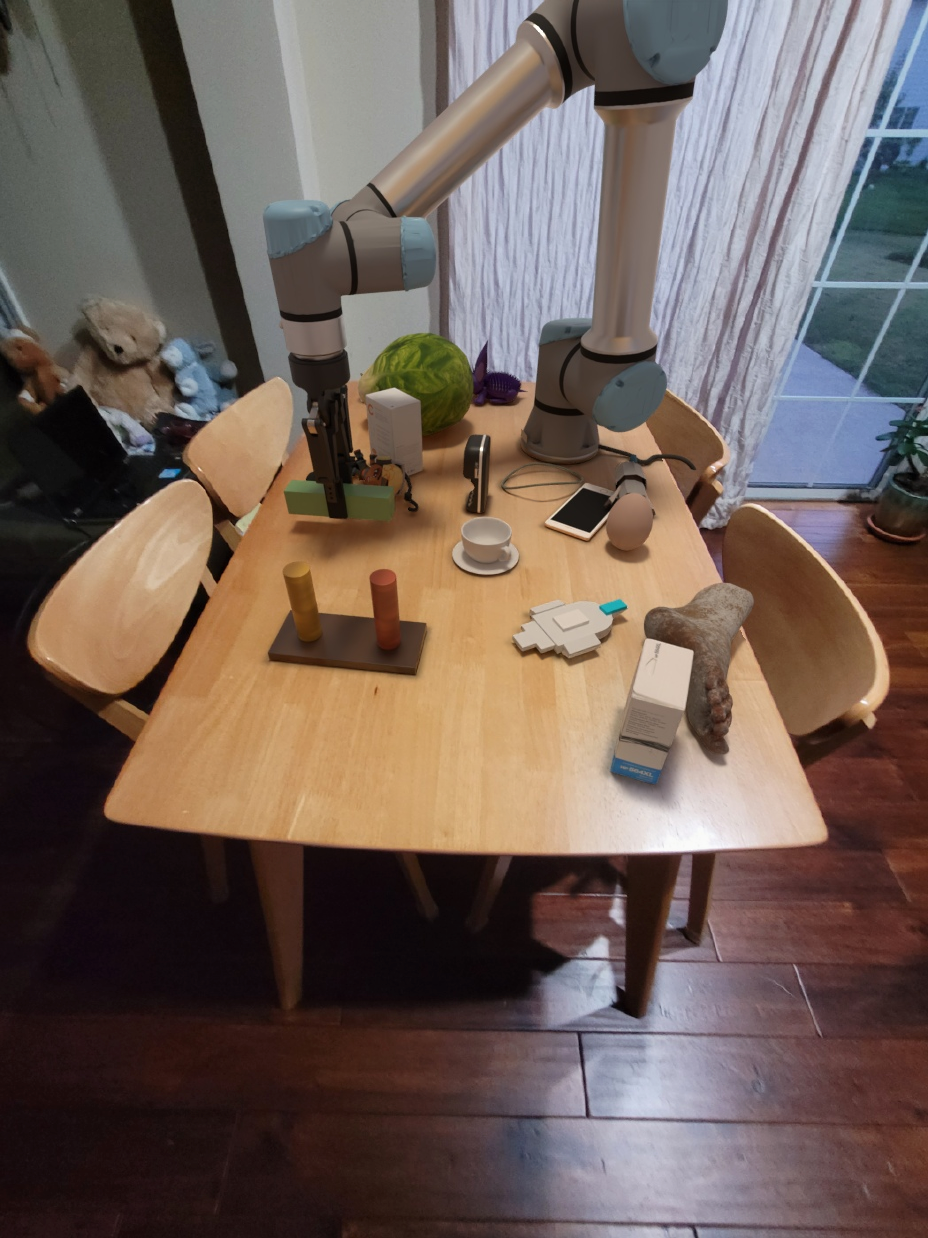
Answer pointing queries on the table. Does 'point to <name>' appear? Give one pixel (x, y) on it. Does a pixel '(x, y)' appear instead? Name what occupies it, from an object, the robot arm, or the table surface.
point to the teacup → (485, 546)
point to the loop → (541, 483)
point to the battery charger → (477, 470)
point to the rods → (347, 629)
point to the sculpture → (705, 653)
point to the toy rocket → (568, 626)
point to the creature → (493, 382)
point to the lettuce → (424, 378)
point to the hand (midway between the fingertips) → (342, 509)
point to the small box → (396, 427)
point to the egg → (629, 522)
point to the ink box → (652, 710)
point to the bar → (359, 500)
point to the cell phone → (583, 512)
